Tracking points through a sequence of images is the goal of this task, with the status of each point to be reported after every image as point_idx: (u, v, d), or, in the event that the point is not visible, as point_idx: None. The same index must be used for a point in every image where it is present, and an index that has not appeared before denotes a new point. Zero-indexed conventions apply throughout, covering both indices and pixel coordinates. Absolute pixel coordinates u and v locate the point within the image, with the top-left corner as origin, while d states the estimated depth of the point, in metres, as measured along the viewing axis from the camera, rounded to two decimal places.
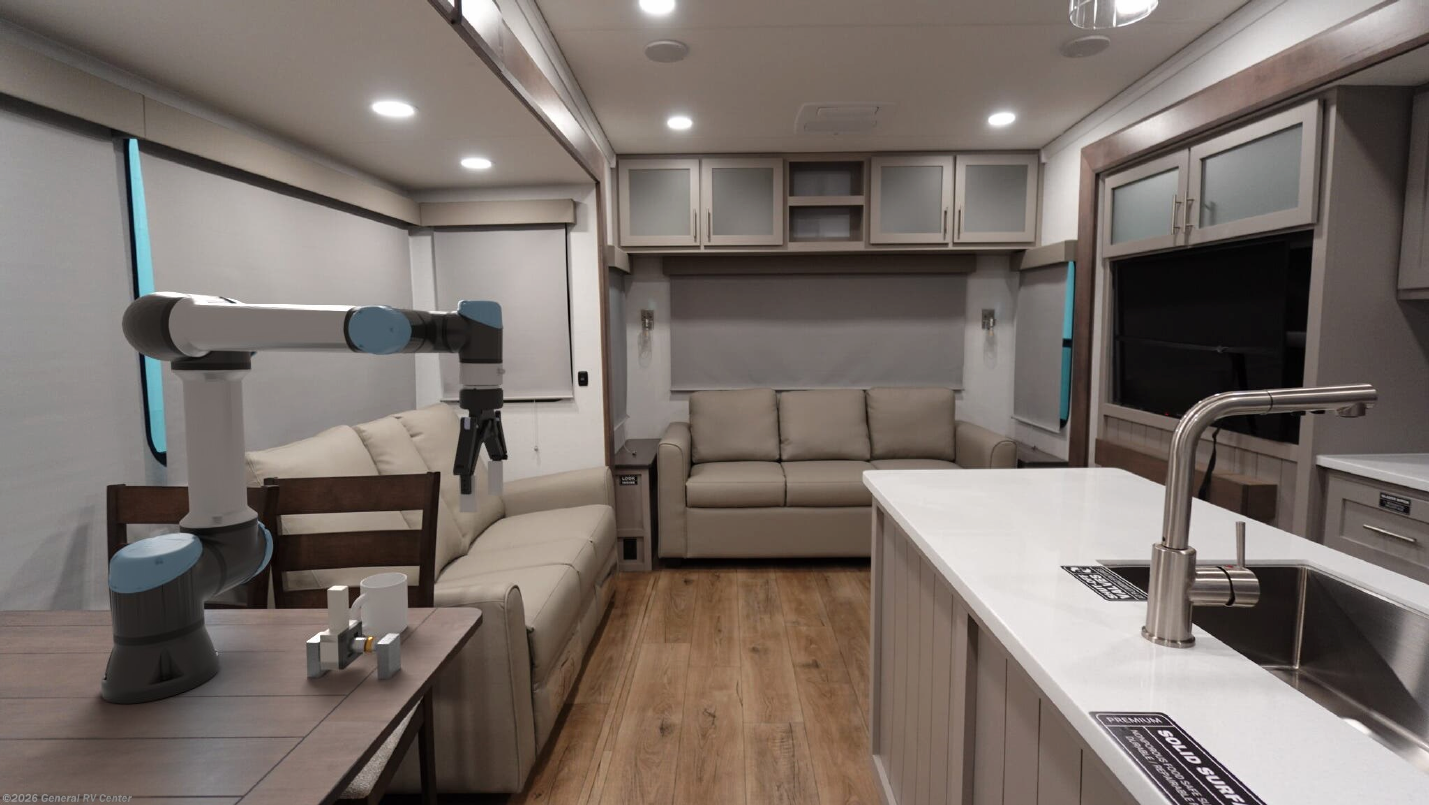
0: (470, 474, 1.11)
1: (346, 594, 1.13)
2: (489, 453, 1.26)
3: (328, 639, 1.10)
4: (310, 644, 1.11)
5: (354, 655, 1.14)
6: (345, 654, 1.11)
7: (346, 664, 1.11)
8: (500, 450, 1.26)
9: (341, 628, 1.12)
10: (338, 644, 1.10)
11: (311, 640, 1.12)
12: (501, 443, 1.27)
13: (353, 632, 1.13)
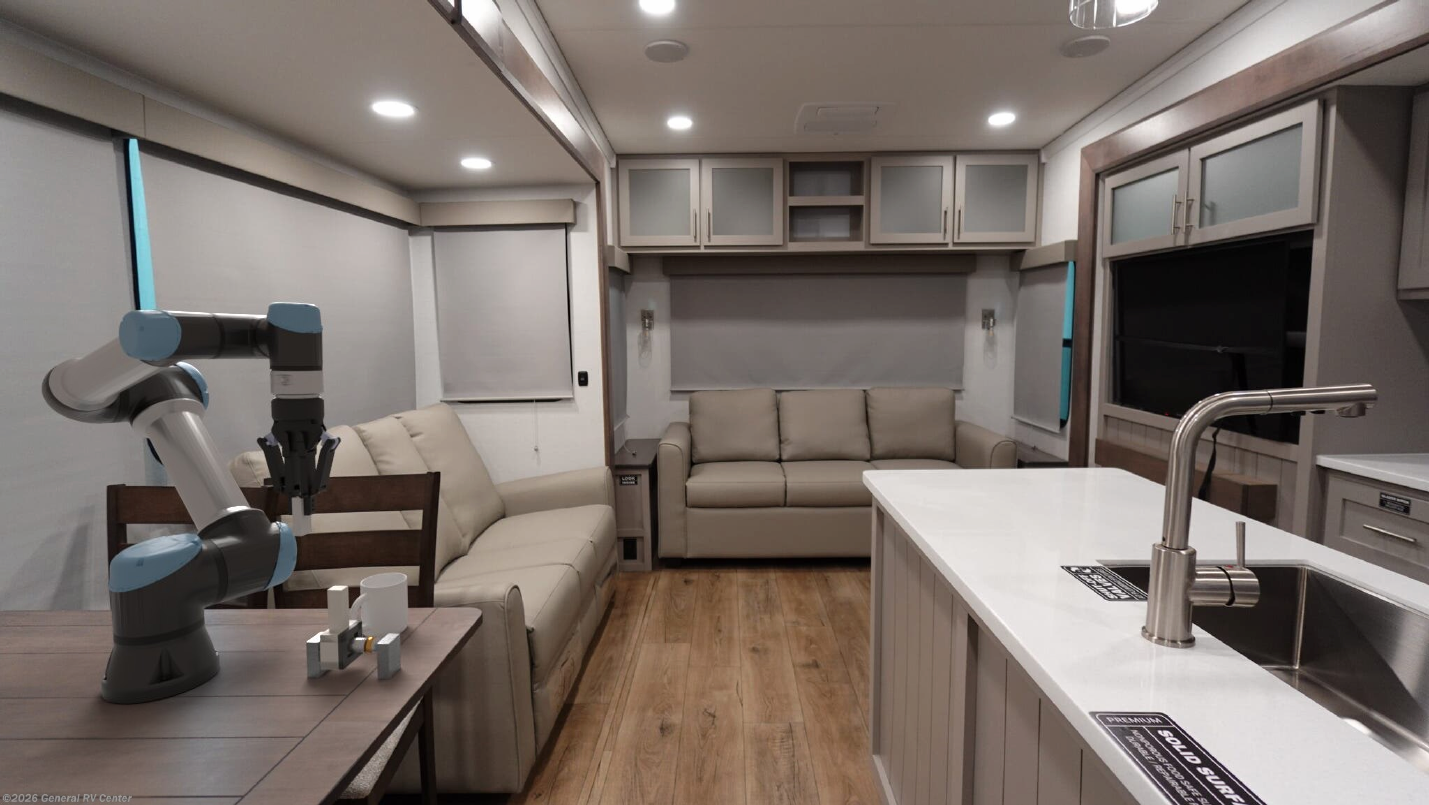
0: (289, 496, 1.10)
1: (346, 594, 1.13)
2: None
3: (328, 639, 1.10)
4: (310, 644, 1.11)
5: (354, 655, 1.14)
6: (345, 654, 1.11)
7: (346, 664, 1.11)
8: (303, 482, 1.10)
9: (341, 628, 1.12)
10: (338, 644, 1.10)
11: (311, 640, 1.12)
12: None
13: (353, 632, 1.13)
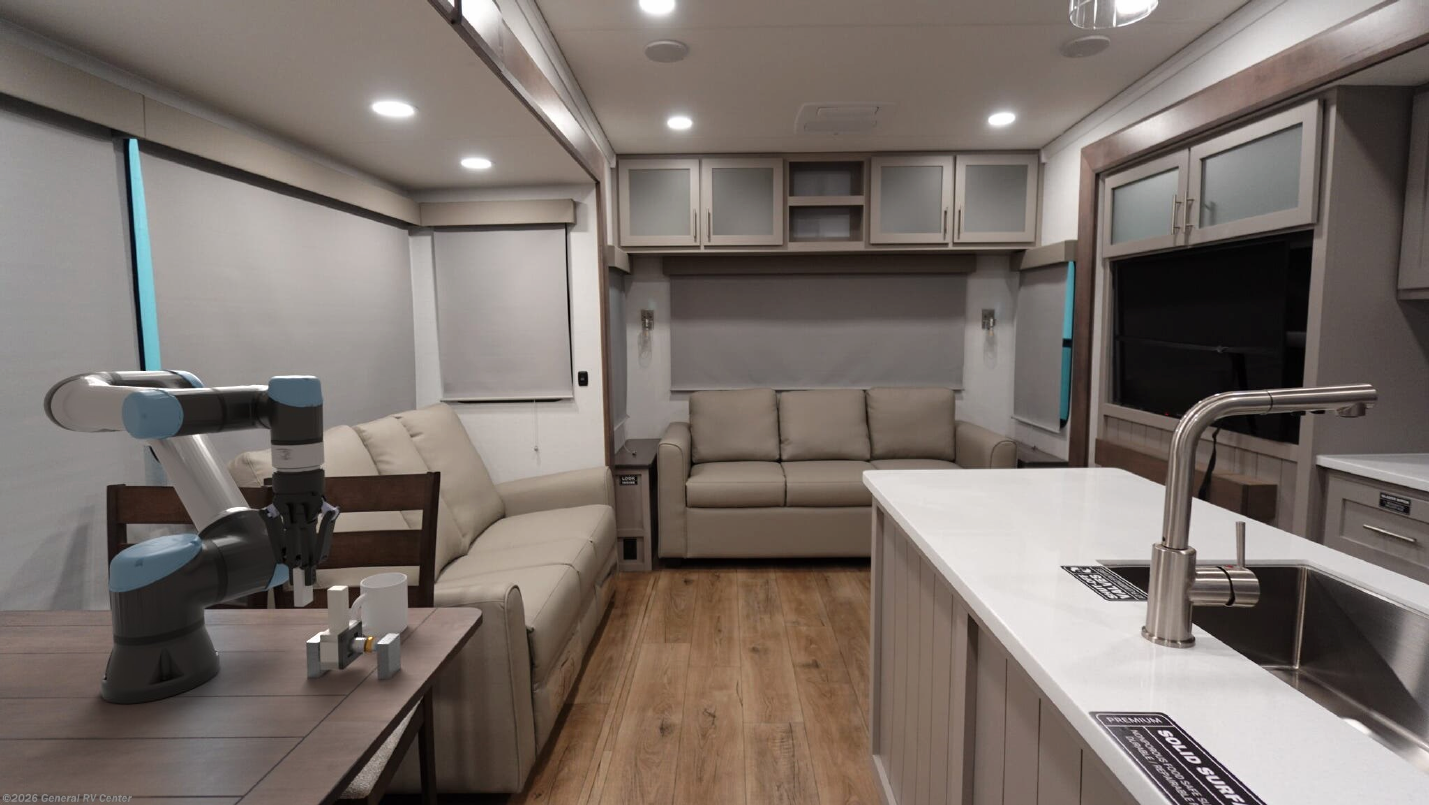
0: (290, 567, 1.11)
1: (346, 594, 1.13)
2: None
3: (328, 639, 1.10)
4: (310, 644, 1.11)
5: (354, 655, 1.14)
6: (345, 654, 1.11)
7: (346, 664, 1.11)
8: (304, 553, 1.10)
9: (341, 628, 1.12)
10: (338, 644, 1.10)
11: (311, 640, 1.12)
12: None
13: (353, 632, 1.13)
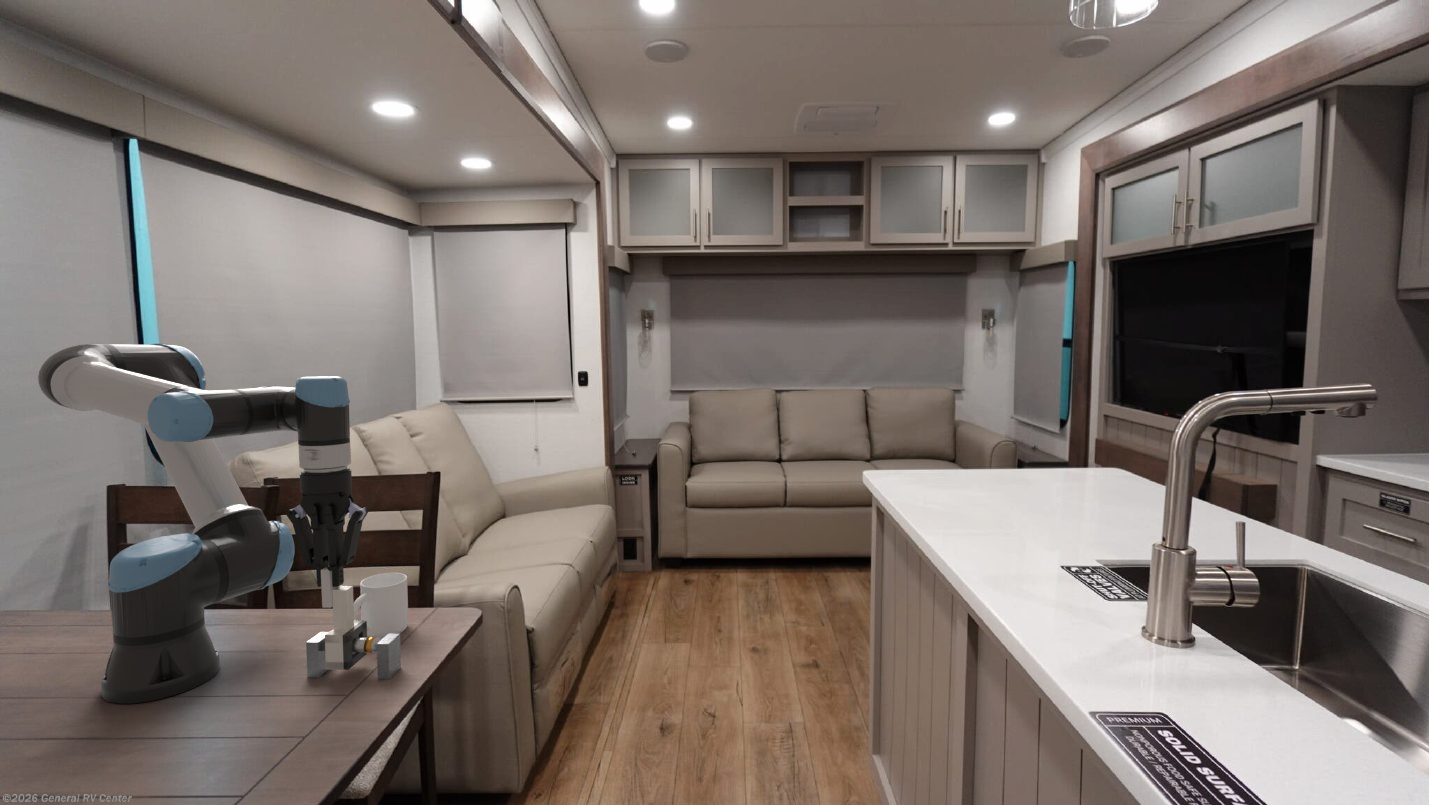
0: None
1: (351, 594, 1.13)
2: None
3: (333, 639, 1.10)
4: (310, 644, 1.11)
5: (359, 655, 1.14)
6: (350, 655, 1.11)
7: (351, 664, 1.11)
8: (331, 554, 1.10)
9: (346, 628, 1.12)
10: (343, 644, 1.10)
11: (311, 640, 1.12)
12: None
13: (358, 632, 1.13)
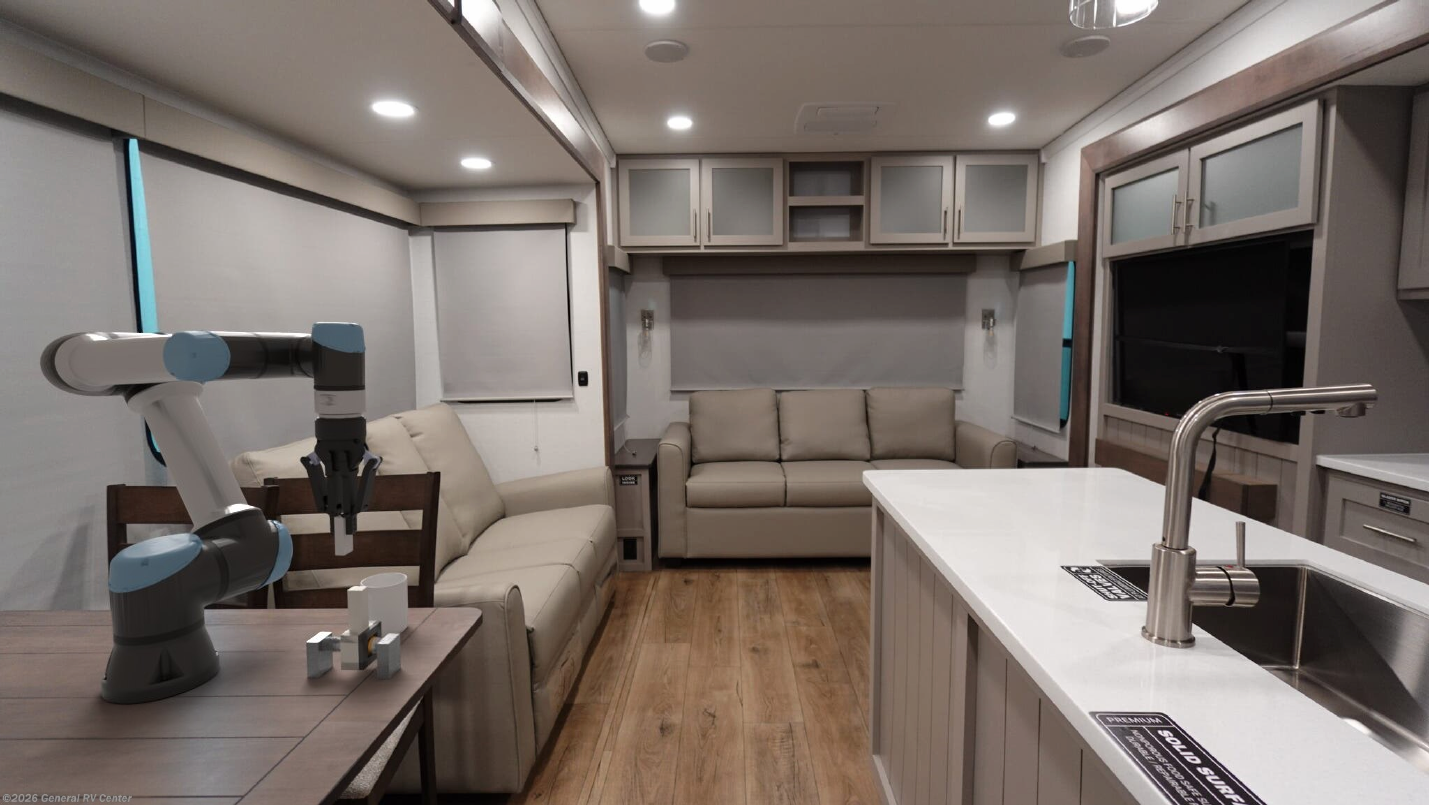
0: (331, 515, 1.10)
1: (366, 594, 1.13)
2: None
3: (348, 639, 1.10)
4: (310, 644, 1.11)
5: (374, 655, 1.14)
6: (365, 655, 1.11)
7: (366, 665, 1.11)
8: (345, 501, 1.10)
9: (361, 628, 1.12)
10: (358, 644, 1.10)
11: (311, 640, 1.12)
12: None
13: (373, 632, 1.13)
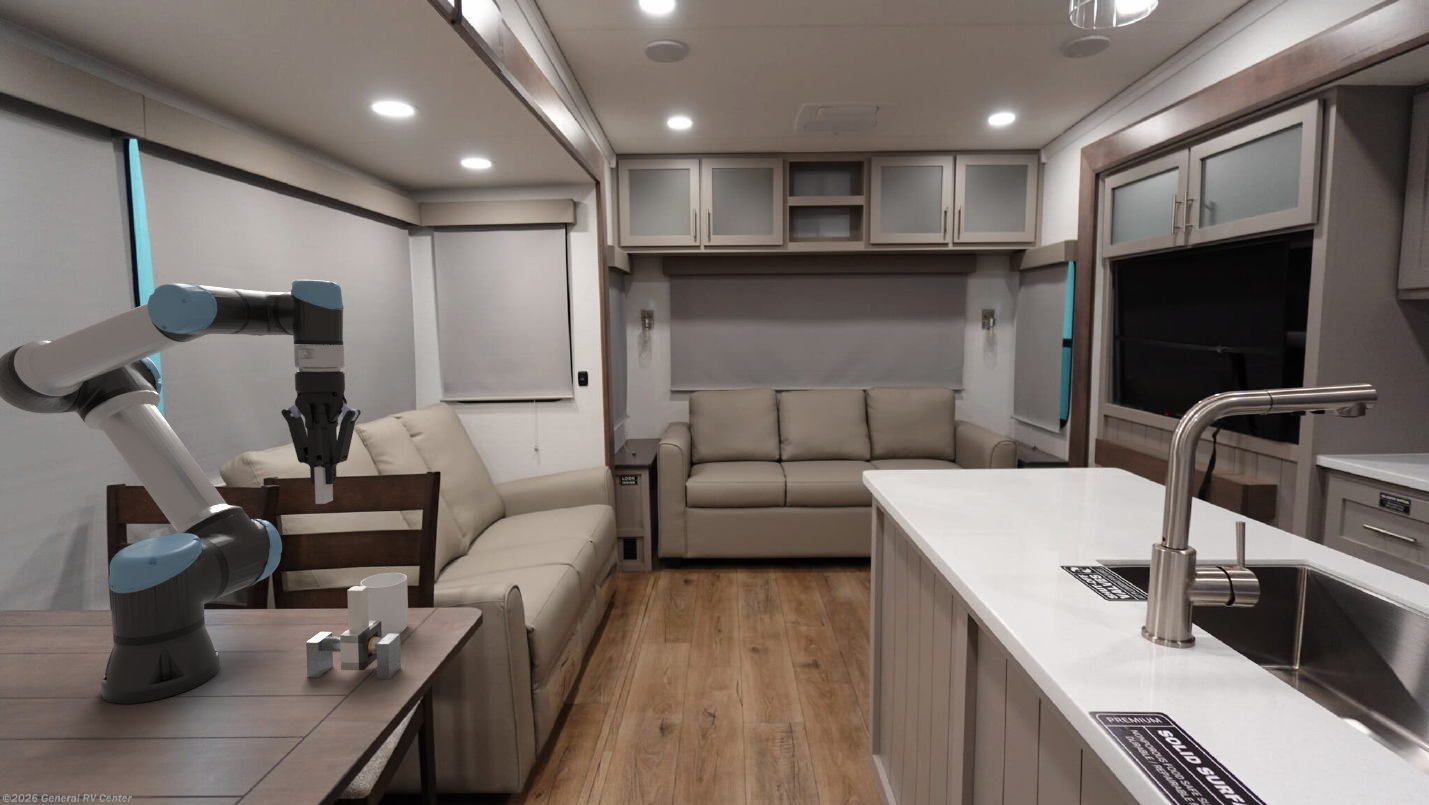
0: None
1: (366, 594, 1.13)
2: None
3: (348, 639, 1.10)
4: (310, 644, 1.11)
5: (374, 655, 1.14)
6: (365, 655, 1.11)
7: (366, 665, 1.11)
8: (325, 452, 1.15)
9: (361, 628, 1.12)
10: (358, 644, 1.10)
11: (311, 640, 1.12)
12: None
13: (373, 632, 1.13)
